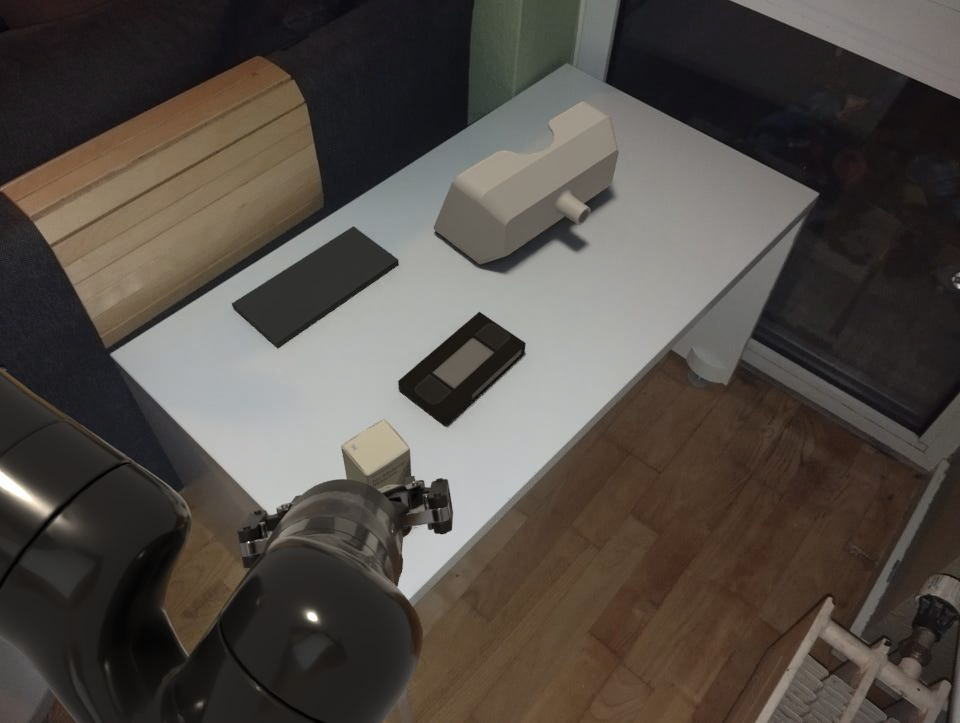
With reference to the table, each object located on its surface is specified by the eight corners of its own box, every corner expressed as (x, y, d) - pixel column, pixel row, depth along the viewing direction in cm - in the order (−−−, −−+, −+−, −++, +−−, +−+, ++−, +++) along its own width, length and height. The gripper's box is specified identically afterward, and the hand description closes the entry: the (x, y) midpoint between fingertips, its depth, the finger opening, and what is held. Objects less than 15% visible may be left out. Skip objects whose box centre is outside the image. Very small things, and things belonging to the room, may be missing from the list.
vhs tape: (525, 353, 94) (526, 343, 92) (446, 427, 87) (446, 417, 85) (478, 321, 96) (479, 311, 95) (398, 390, 90) (397, 381, 88)
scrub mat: (277, 348, 93) (276, 343, 92) (233, 308, 96) (231, 303, 96) (398, 264, 102) (398, 259, 101) (354, 231, 106) (353, 226, 105)
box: (375, 539, 78) (364, 479, 68) (350, 508, 80) (336, 445, 70) (416, 510, 81) (412, 447, 70) (392, 481, 83) (384, 415, 72)
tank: (513, 296, 99) (521, 224, 89) (431, 232, 106) (429, 159, 96) (634, 209, 110) (653, 136, 100) (553, 156, 117) (563, 83, 107)
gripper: (448, 472, 44) (440, 435, 60) (197, 515, 43) (258, 466, 59) (468, 599, 44) (455, 529, 61) (220, 645, 43) (274, 561, 59)
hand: (357, 498), depth 60 cm, fingers open, 8 cm apart
